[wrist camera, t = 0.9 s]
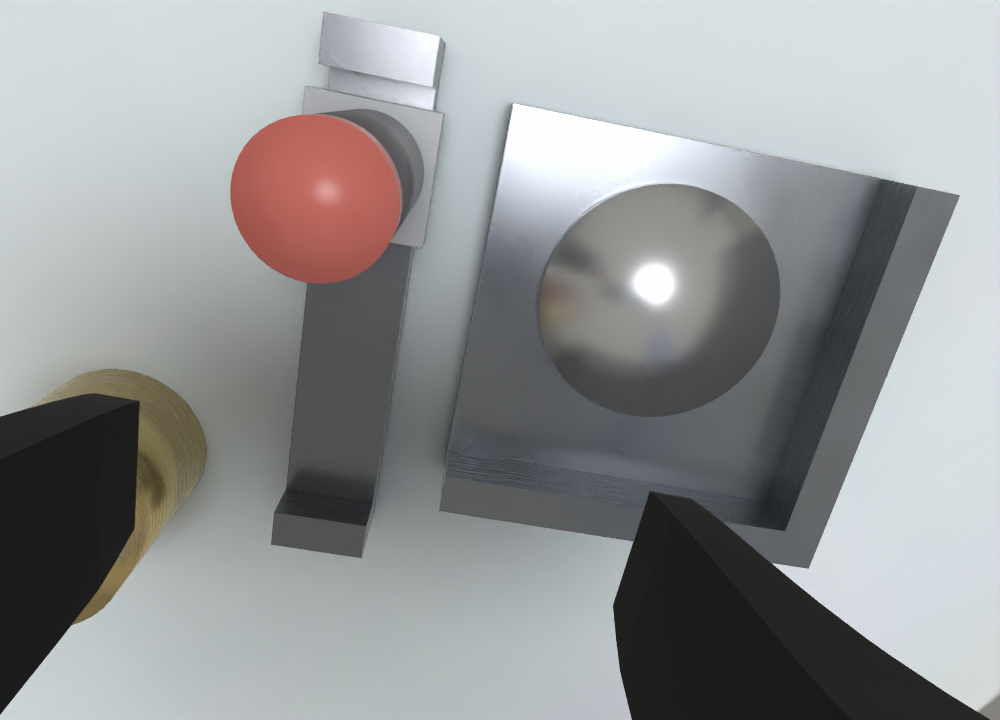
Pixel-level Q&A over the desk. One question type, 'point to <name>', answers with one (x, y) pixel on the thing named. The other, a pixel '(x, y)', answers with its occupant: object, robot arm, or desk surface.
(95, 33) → the desk surface
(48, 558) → the robot arm
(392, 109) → the lever
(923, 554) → the desk surface
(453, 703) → the desk surface
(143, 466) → the cylinder
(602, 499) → the plate
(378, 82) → the rail
